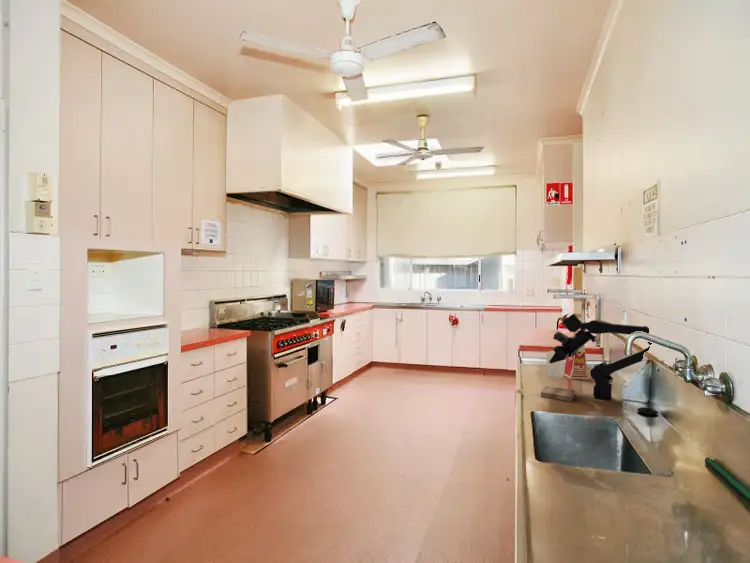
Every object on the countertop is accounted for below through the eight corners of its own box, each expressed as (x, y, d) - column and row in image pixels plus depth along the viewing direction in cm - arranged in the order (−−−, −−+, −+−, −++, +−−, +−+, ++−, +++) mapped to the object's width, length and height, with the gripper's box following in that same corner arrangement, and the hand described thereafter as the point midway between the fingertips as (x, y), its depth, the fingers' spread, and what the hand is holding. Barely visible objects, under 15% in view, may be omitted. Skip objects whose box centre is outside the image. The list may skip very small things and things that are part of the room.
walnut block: (574, 394, 194) (574, 390, 194) (570, 401, 184) (571, 396, 184) (545, 390, 201) (545, 385, 200) (540, 396, 190) (540, 391, 190)
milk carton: (588, 379, 223) (590, 340, 223) (570, 378, 224) (571, 339, 223) (580, 375, 233) (582, 337, 232) (562, 374, 233) (564, 336, 232)
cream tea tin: (563, 376, 204) (564, 352, 203) (559, 378, 199) (560, 354, 199) (550, 374, 207) (551, 350, 207) (546, 376, 203) (546, 352, 203)
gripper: (571, 324, 207) (546, 345, 215) (558, 328, 193) (532, 350, 200) (589, 343, 202) (563, 364, 210) (577, 348, 188) (550, 370, 195)
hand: (552, 361), depth 204 cm, fingers closed on cream tea tin, 6 cm apart
